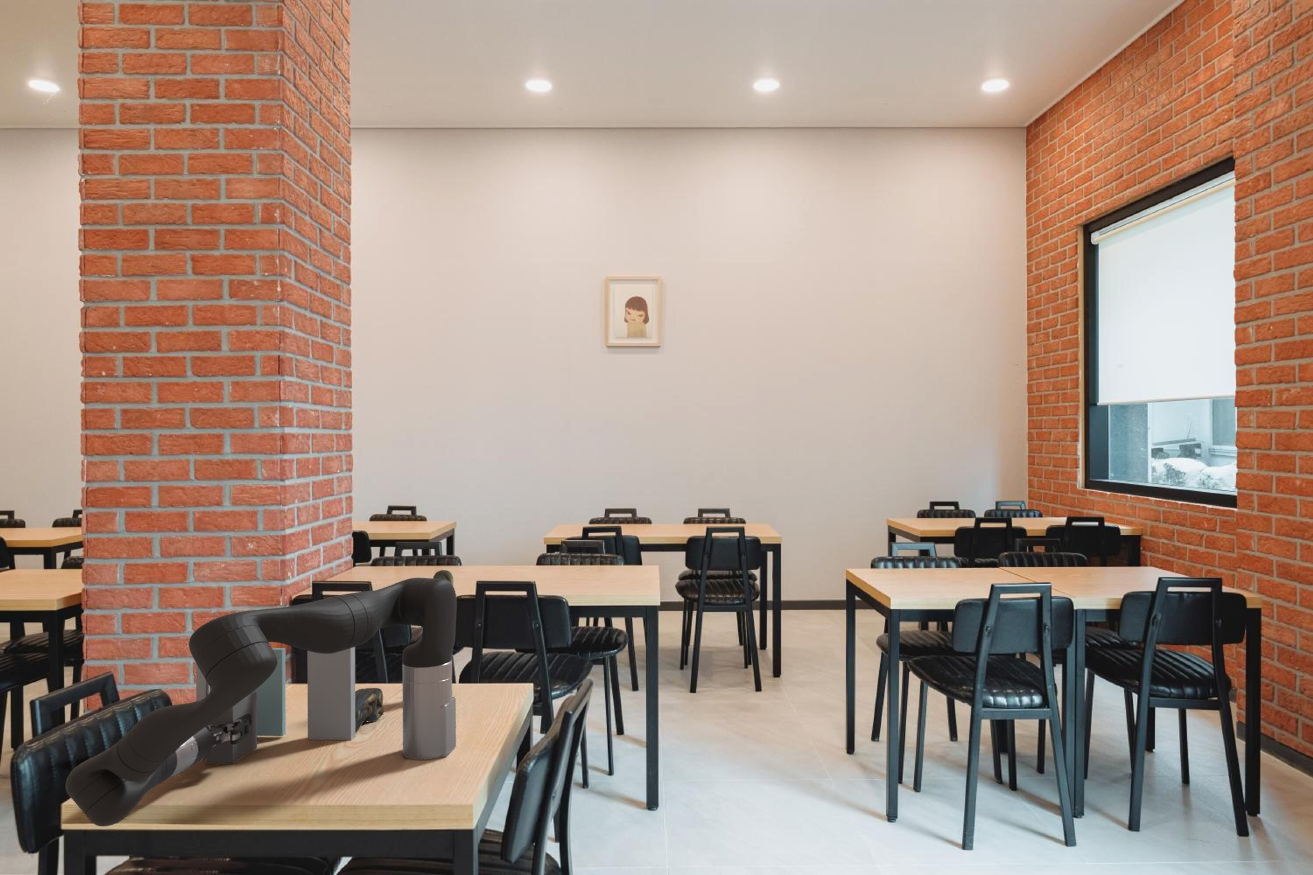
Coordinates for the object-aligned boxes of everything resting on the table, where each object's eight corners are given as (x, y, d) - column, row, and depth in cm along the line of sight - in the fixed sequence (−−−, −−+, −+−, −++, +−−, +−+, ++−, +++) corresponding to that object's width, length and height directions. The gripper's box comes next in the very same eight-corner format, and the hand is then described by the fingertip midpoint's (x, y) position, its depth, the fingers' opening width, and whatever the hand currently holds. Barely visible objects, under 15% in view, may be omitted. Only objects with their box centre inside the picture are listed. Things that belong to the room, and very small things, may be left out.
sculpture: (367, 733, 166) (367, 699, 166) (335, 734, 166) (335, 700, 166) (385, 713, 179) (385, 682, 180) (356, 714, 179) (356, 683, 179)
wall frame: (355, 736, 164) (354, 628, 165) (350, 739, 162) (350, 630, 163) (202, 734, 167) (202, 628, 167) (196, 738, 165) (196, 630, 165)
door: (288, 731, 166) (288, 646, 167) (282, 735, 164) (282, 649, 164) (215, 731, 167) (215, 646, 168) (208, 735, 165) (208, 649, 165)
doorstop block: (256, 748, 159) (256, 691, 159) (232, 763, 151) (232, 704, 151) (230, 747, 159) (229, 691, 159) (204, 763, 151) (204, 704, 151)
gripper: (135, 771, 139) (197, 738, 156) (215, 772, 138) (269, 738, 155) (135, 728, 139) (197, 698, 156) (215, 728, 138) (268, 699, 155)
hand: (232, 718), depth 155 cm, fingers open, 6 cm apart
